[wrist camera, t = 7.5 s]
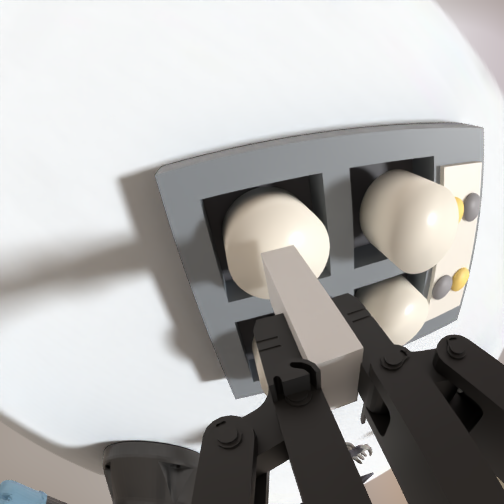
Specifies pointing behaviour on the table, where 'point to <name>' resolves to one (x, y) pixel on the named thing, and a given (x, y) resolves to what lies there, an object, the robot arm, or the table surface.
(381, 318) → the button
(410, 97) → the table surface
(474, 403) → the robot arm
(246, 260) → the button
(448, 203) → the button
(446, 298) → the board
